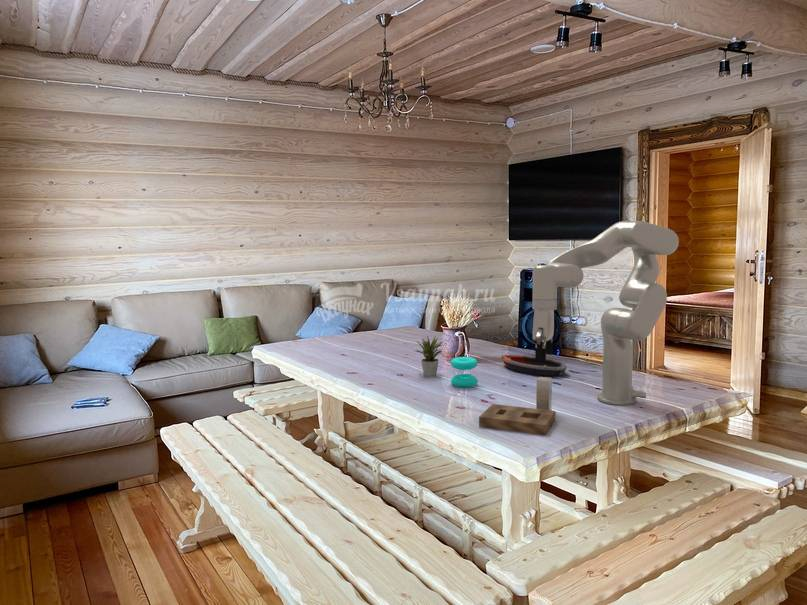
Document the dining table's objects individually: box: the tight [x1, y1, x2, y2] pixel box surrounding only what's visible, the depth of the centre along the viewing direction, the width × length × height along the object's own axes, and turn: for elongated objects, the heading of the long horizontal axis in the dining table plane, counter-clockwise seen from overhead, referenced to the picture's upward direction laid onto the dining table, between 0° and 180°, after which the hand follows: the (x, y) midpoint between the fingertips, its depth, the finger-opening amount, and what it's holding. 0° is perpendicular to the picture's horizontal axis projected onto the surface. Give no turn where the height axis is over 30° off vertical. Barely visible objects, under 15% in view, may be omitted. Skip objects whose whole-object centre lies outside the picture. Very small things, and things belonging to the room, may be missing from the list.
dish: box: [501, 354, 567, 377], centre depth 248 cm, size 16×31×5 cm, turn 40°
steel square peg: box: [535, 376, 553, 411], centre depth 193 cm, size 4×4×11 cm
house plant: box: [413, 335, 447, 377], centre depth 242 cm, size 14×14×16 cm
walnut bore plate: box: [478, 403, 556, 436], centre depth 183 cm, size 20×14×3 cm
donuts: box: [450, 356, 478, 388], centre depth 228 cm, size 10×10×10 cm
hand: (544, 357), depth 191 cm, fingers open, 9 cm apart
